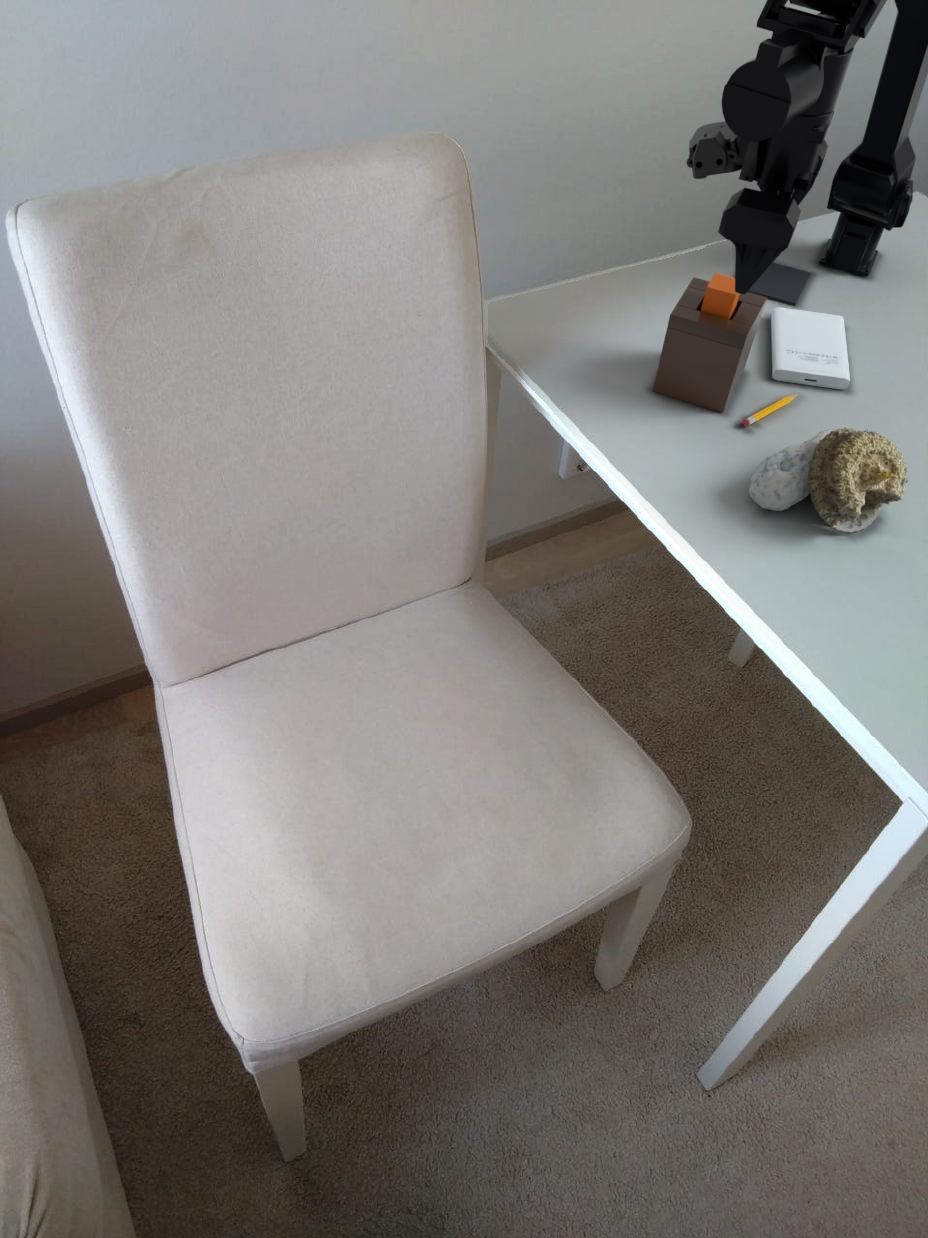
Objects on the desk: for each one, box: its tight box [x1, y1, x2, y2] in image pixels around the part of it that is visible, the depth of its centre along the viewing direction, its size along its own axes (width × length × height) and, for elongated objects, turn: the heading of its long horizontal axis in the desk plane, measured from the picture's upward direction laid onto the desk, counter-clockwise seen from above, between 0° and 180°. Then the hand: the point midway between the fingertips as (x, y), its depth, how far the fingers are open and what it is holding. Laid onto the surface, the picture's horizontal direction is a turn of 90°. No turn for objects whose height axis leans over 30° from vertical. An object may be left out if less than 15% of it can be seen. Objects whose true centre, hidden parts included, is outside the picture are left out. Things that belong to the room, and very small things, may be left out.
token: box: [701, 272, 740, 320], centre depth 93 cm, size 3×3×4 cm
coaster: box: [748, 262, 811, 306], centre depth 114 cm, size 8×8×1 cm
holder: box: [652, 276, 768, 414], centre depth 97 cm, size 8×8×10 cm
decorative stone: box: [748, 429, 837, 512], centre depth 89 cm, size 13×7×5 cm, turn 124°
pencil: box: [742, 393, 798, 428], centre depth 98 cm, size 1×9×1 cm, turn 128°
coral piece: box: [808, 427, 909, 534], centre depth 84 cm, size 10×10×5 cm
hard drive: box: [770, 306, 851, 390], centre depth 104 cm, size 2×8×12 cm
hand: (750, 269), depth 91 cm, fingers open, 9 cm apart
